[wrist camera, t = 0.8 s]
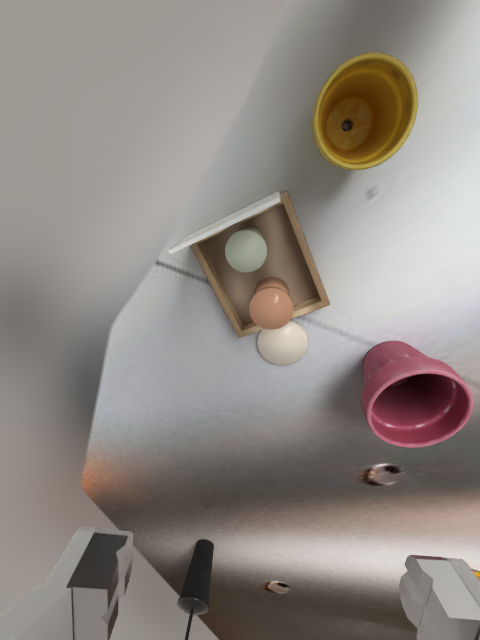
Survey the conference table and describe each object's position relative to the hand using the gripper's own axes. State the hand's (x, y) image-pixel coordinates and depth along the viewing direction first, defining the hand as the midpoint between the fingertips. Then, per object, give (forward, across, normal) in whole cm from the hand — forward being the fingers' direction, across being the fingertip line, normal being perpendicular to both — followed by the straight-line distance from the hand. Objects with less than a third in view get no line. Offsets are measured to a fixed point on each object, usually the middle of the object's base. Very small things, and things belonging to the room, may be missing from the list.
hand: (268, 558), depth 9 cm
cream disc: (+46, -7, +7) cm, 47 cm away
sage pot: (+42, 0, -9) cm, 44 cm away
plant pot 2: (+45, -27, +9) cm, 53 cm away
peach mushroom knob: (+44, -4, -2) cm, 44 cm away
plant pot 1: (+39, -11, -25) cm, 48 cm away
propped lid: (+40, +3, -13) cm, 42 cm away
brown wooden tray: (+44, -2, -6) cm, 44 cm away
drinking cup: (+62, +4, +73) cm, 96 cm away
